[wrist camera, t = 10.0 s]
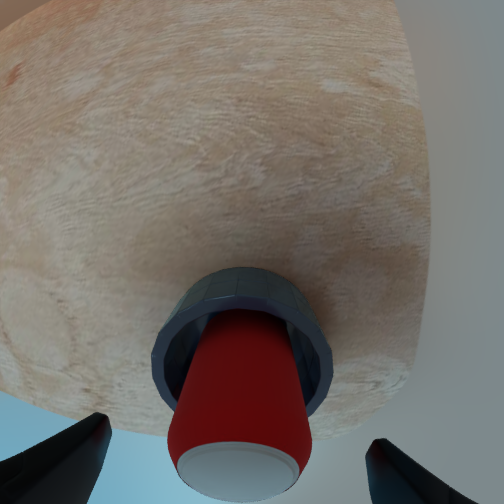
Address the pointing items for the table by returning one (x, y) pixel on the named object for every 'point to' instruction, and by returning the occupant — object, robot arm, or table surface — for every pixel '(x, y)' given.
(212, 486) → the beverage can
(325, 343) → the pot
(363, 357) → the table surface
